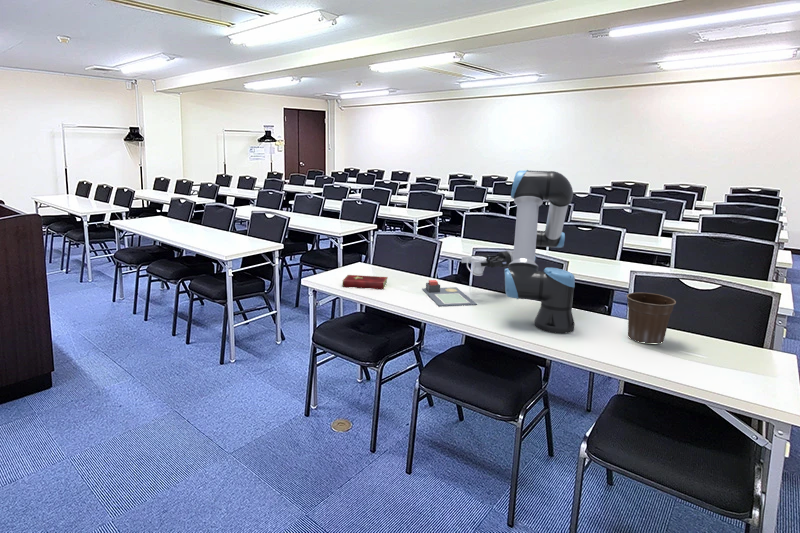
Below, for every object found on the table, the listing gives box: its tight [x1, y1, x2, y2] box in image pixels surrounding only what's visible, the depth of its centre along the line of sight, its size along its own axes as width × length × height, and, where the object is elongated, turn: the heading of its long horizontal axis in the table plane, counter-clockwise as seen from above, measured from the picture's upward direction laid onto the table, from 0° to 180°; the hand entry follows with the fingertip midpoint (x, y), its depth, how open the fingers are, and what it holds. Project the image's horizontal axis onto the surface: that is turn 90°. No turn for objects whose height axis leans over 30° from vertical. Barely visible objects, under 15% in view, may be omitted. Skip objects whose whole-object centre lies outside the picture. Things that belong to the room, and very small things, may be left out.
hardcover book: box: [342, 274, 389, 290], centre depth 243 cm, size 12×21×4 cm, turn 83°
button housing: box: [425, 282, 441, 293], centre depth 234 cm, size 6×6×4 cm
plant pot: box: [626, 292, 677, 344], centre depth 178 cm, size 16×16×16 cm
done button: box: [428, 279, 439, 285], centre depth 234 cm, size 4×4×3 cm
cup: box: [466, 256, 487, 277], centre depth 223 cm, size 7×10×8 cm
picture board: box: [421, 286, 478, 308], centre depth 227 cm, size 28×18×1 cm, turn 13°
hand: (468, 262), depth 220 cm, fingers closed on cup, 9 cm apart
